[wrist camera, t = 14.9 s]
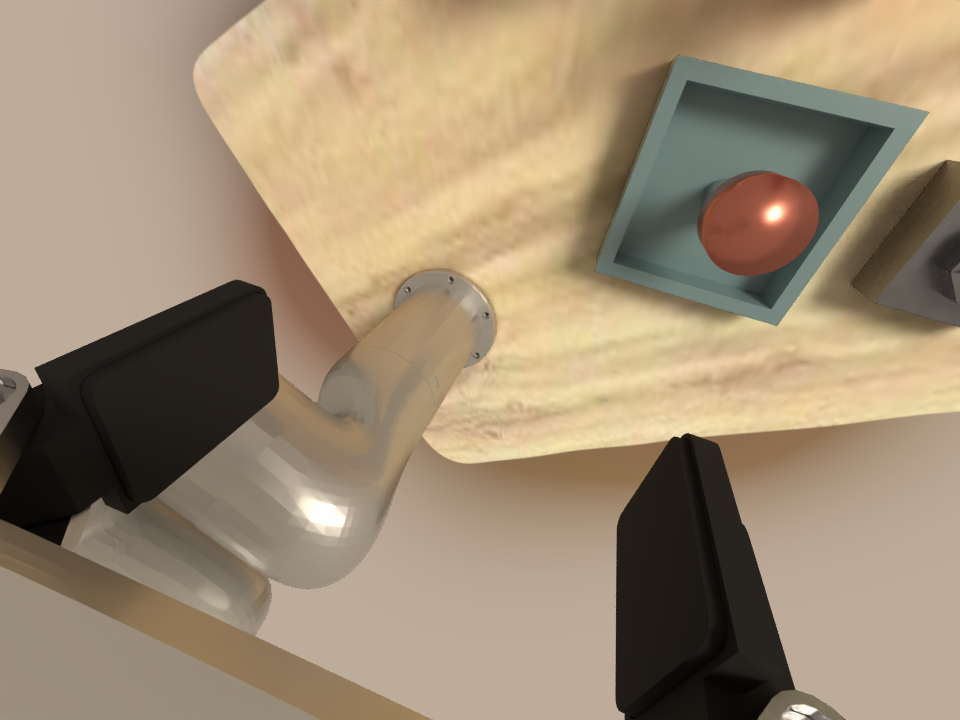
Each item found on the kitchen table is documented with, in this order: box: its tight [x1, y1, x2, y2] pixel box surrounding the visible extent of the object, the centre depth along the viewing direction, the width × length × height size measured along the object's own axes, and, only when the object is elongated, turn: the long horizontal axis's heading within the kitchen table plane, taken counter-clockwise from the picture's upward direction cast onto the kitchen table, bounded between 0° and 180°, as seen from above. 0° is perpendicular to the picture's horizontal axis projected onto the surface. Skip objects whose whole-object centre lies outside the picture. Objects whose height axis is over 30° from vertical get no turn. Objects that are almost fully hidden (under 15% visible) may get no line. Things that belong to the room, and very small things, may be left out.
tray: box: [595, 55, 929, 326], centre depth 33 cm, size 16×16×4 cm
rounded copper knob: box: [697, 170, 819, 276], centre depth 30 cm, size 6×6×11 cm
